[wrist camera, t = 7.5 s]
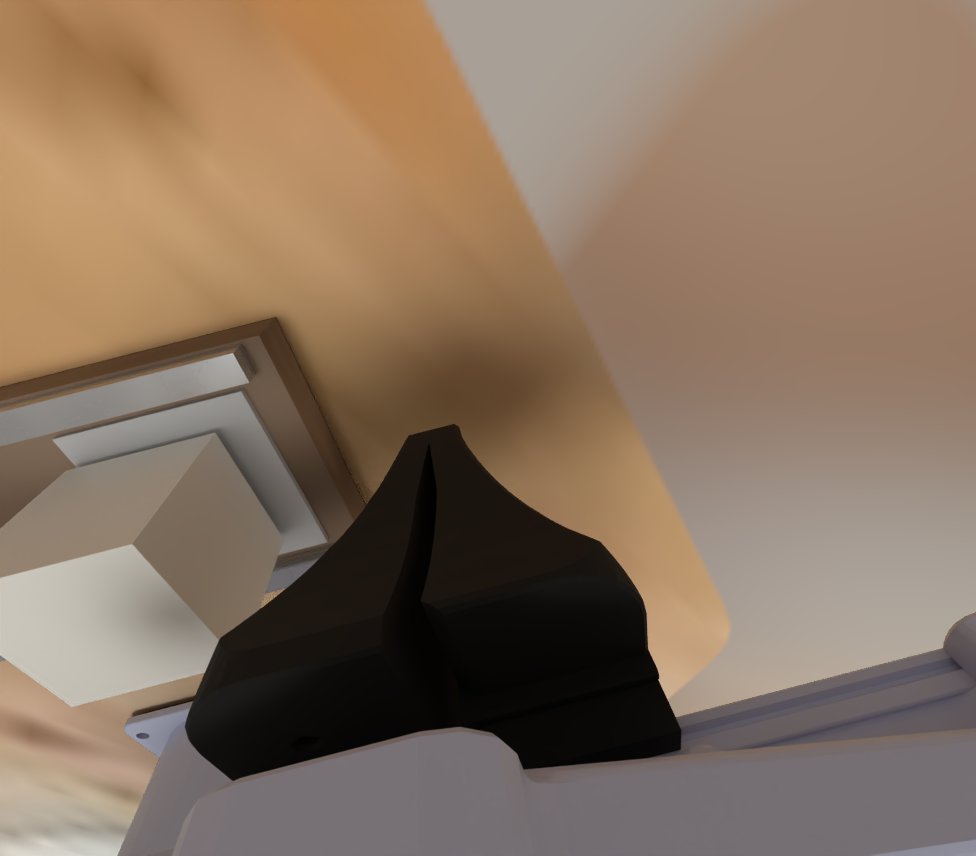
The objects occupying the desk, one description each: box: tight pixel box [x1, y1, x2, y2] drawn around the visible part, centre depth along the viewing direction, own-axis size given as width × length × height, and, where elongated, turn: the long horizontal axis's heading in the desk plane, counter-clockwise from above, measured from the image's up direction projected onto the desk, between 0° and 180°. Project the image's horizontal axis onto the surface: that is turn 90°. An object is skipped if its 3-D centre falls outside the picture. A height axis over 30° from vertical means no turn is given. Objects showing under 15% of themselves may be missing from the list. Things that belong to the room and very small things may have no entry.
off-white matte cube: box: [0, 433, 284, 707], centre depth 11 cm, size 4×4×4 cm
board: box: [0, 318, 366, 661], centre depth 14 cm, size 8×20×2 cm, turn 102°
